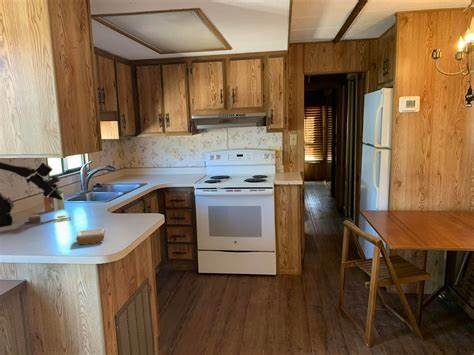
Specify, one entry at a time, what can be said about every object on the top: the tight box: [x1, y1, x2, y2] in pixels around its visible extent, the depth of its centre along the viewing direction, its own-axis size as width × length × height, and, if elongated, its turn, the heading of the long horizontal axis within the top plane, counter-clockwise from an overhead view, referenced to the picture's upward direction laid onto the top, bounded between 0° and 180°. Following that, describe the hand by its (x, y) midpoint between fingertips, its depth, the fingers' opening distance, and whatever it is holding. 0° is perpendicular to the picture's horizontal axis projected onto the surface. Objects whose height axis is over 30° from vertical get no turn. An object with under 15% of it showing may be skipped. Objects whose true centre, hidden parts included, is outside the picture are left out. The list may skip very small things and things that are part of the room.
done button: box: [29, 214, 39, 218], centre depth 211 cm, size 4×4×2 cm
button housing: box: [28, 214, 42, 224], centre depth 211 cm, size 6×6×4 cm
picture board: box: [41, 215, 72, 224], centre depth 216 cm, size 18×17×1 cm
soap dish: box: [75, 228, 106, 246], centre depth 171 cm, size 12×10×5 cm
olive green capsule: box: [56, 188, 65, 211], centre depth 217 cm, size 4×4×12 cm
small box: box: [43, 195, 61, 213], centre depth 241 cm, size 8×6×10 cm
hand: (62, 198), depth 218 cm, fingers closed on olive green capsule, 4 cm apart
